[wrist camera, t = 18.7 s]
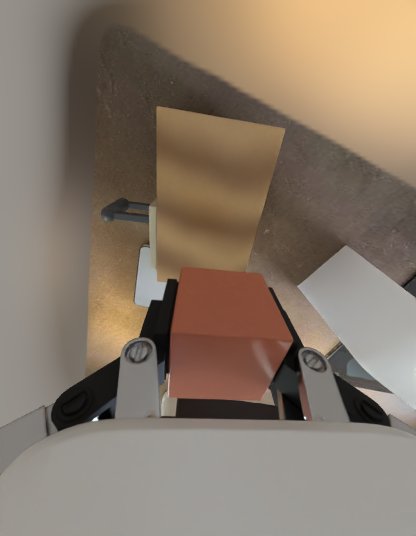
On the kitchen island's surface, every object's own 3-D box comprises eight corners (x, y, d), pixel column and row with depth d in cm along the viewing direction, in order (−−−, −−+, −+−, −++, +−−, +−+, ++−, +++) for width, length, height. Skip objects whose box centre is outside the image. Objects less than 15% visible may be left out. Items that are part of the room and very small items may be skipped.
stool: (153, 428, 28) (347, 442, 33) (172, 318, 46) (296, 339, 51) (142, 463, 35) (300, 470, 41) (162, 357, 53) (270, 372, 59)
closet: (163, 123, 26) (131, 101, 14) (247, 137, 27) (285, 128, 15) (162, 233, 35) (141, 280, 22) (227, 241, 36) (240, 289, 23)
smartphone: (133, 304, 42) (139, 244, 34) (134, 301, 43) (141, 242, 35) (166, 311, 43) (180, 254, 35) (167, 307, 44) (181, 251, 36)
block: (181, 265, 11) (170, 332, 7) (261, 273, 11) (295, 340, 7) (177, 323, 13) (167, 398, 9) (243, 328, 13) (261, 401, 10)
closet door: (126, 182, 29) (89, 198, 19) (170, 188, 29) (156, 206, 20) (130, 231, 33) (101, 265, 23) (169, 235, 34) (156, 270, 24)
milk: (329, 308, 46) (450, 459, 23) (297, 286, 42) (405, 441, 20) (377, 273, 41) (588, 422, 18) (346, 244, 37) (564, 389, 15)
